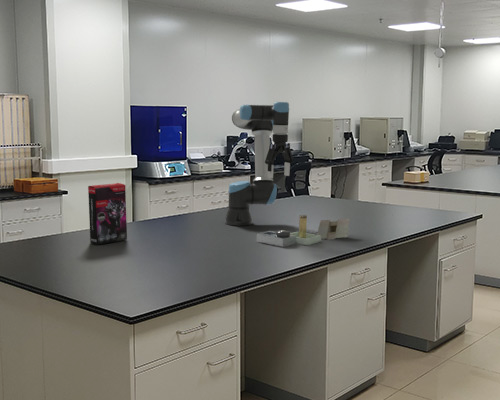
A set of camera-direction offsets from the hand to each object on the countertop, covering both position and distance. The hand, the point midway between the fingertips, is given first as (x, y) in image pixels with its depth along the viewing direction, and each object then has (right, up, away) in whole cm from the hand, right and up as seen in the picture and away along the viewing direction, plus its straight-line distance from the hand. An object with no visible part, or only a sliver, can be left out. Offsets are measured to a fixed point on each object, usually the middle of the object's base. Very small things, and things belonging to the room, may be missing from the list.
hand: (278, 176), depth 302 cm
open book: (+28, -31, +8) cm, 43 cm away
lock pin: (+11, -31, -3) cm, 33 cm away
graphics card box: (-81, -32, -14) cm, 88 cm away
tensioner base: (-2, -32, -7) cm, 33 cm away
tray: (+11, -32, -3) cm, 34 cm away
